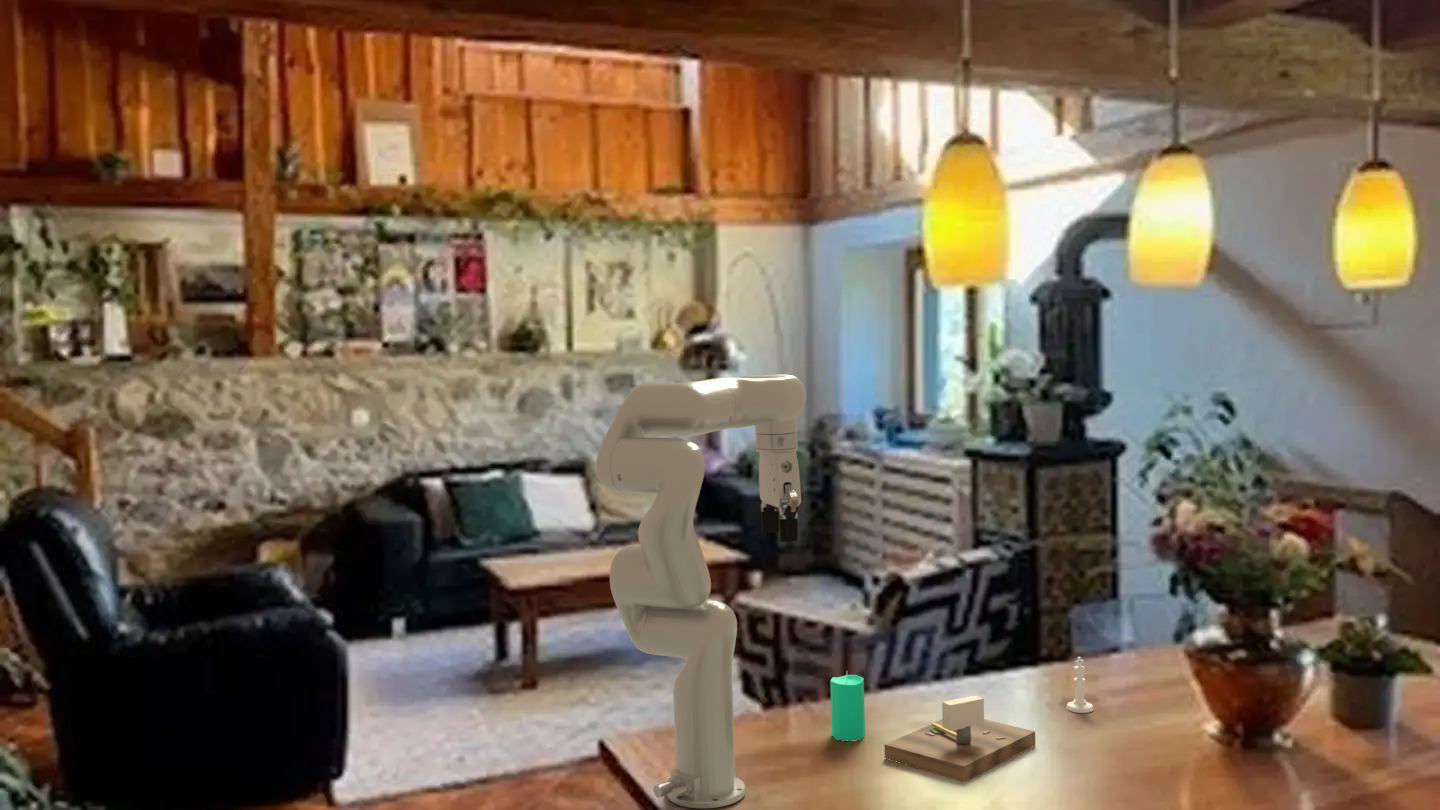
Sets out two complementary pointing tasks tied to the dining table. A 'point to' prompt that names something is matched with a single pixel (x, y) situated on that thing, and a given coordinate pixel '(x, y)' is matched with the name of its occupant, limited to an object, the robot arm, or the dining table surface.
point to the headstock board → (960, 749)
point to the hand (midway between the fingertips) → (779, 536)
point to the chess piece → (1079, 692)
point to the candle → (847, 707)
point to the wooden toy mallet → (961, 717)
